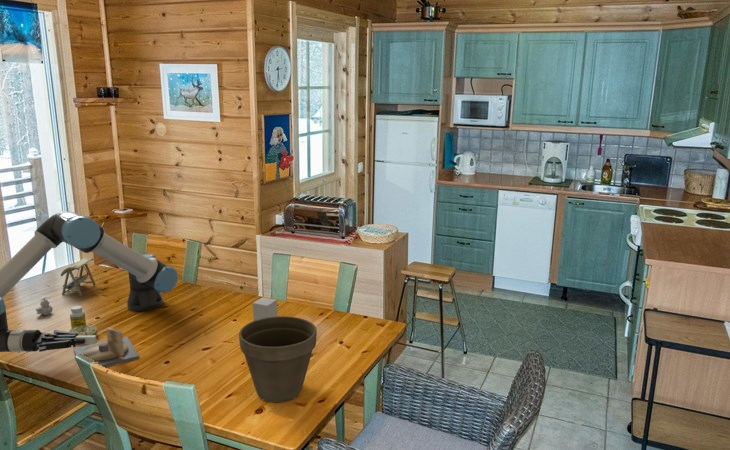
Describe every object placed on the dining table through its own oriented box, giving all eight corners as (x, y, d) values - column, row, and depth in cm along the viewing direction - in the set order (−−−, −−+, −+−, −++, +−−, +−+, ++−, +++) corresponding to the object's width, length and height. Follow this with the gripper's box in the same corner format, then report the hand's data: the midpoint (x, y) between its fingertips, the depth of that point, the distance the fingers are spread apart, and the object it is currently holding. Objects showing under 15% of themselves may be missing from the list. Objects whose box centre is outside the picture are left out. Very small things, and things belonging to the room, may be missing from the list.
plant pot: (262, 367, 202) (261, 310, 197) (327, 378, 195) (327, 320, 190) (226, 403, 179) (223, 340, 173) (298, 417, 172) (298, 352, 167)
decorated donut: (62, 344, 217) (61, 335, 216) (74, 332, 227) (73, 323, 226) (90, 344, 218) (89, 335, 217) (101, 332, 228) (100, 323, 227)
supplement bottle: (85, 325, 233) (83, 304, 231) (87, 330, 229) (85, 308, 226) (70, 328, 230) (68, 306, 228) (72, 333, 226) (70, 311, 224)
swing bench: (78, 285, 279) (74, 256, 276) (97, 285, 279) (94, 257, 275) (61, 295, 265) (57, 265, 261) (81, 296, 265) (78, 266, 261)
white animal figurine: (55, 313, 244) (53, 296, 243) (40, 318, 239) (38, 301, 237) (49, 310, 247) (47, 293, 245) (33, 315, 242) (31, 298, 240)
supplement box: (278, 328, 234) (277, 299, 231) (268, 335, 228) (267, 305, 225) (263, 324, 237) (262, 296, 234) (253, 331, 231) (252, 302, 228)
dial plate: (127, 339, 222) (127, 336, 221) (139, 358, 207) (138, 355, 206) (73, 350, 211) (73, 347, 211) (81, 372, 196) (81, 368, 196)
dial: (74, 354, 206) (71, 329, 204) (110, 339, 219) (107, 315, 216) (104, 366, 198) (101, 340, 195) (140, 349, 210) (137, 324, 208)
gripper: (36, 342, 205) (103, 341, 207) (18, 359, 193) (89, 357, 195) (33, 323, 204) (101, 322, 206) (15, 339, 191) (87, 337, 193)
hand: (95, 339), depth 200 cm, fingers closed
